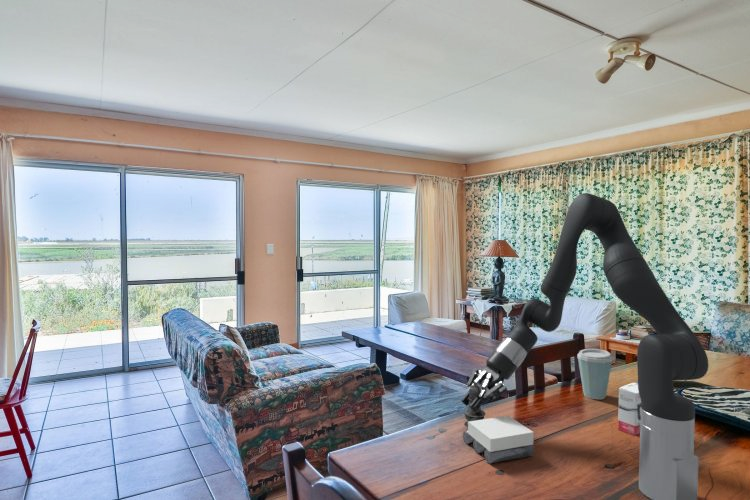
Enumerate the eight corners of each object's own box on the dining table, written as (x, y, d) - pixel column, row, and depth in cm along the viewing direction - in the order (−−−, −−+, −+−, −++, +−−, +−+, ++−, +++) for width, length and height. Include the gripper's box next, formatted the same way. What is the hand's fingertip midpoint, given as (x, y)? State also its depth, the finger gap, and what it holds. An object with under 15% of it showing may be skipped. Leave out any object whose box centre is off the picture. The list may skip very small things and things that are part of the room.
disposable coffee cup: (603, 404, 138) (604, 357, 137) (570, 395, 146) (571, 350, 145) (617, 397, 144) (618, 352, 144) (584, 388, 153) (585, 345, 152)
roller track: (534, 457, 104) (534, 445, 104) (491, 465, 101) (491, 453, 100) (502, 434, 117) (502, 423, 117) (462, 440, 113) (462, 429, 113)
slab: (533, 444, 105) (533, 432, 105) (490, 452, 101) (490, 439, 101) (508, 426, 114) (508, 415, 114) (467, 433, 110) (468, 421, 110)
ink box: (635, 436, 116) (637, 392, 116) (616, 429, 120) (618, 387, 120) (651, 428, 121) (652, 386, 120) (632, 422, 125) (633, 381, 125)
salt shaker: (469, 418, 123) (469, 377, 123) (489, 424, 119) (489, 381, 119) (459, 425, 119) (459, 382, 118) (479, 432, 115) (479, 387, 114)
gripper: (484, 343, 127) (446, 389, 124) (514, 356, 114) (473, 408, 111) (499, 359, 129) (463, 405, 126) (531, 374, 116) (491, 425, 112)
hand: (468, 406), depth 118 cm, fingers closed on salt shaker, 3 cm apart
